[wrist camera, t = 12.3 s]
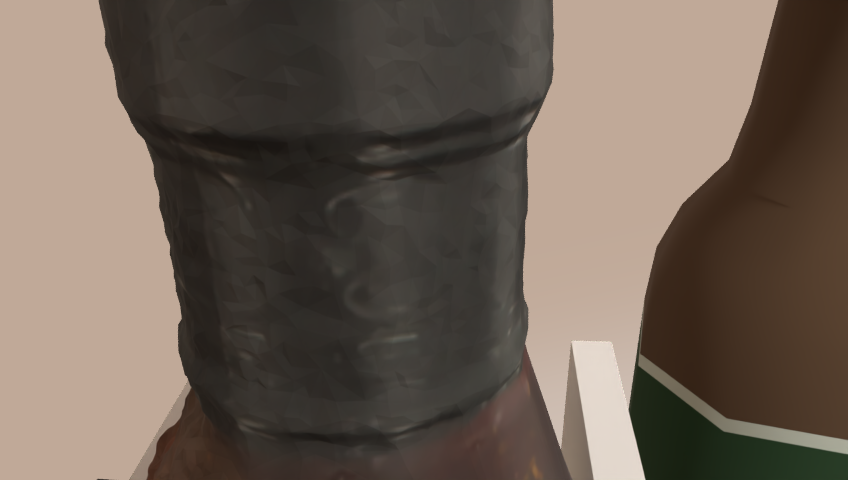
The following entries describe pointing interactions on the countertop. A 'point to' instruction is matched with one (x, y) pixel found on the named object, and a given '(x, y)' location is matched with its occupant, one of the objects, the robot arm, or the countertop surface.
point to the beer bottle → (758, 283)
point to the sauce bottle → (345, 232)
